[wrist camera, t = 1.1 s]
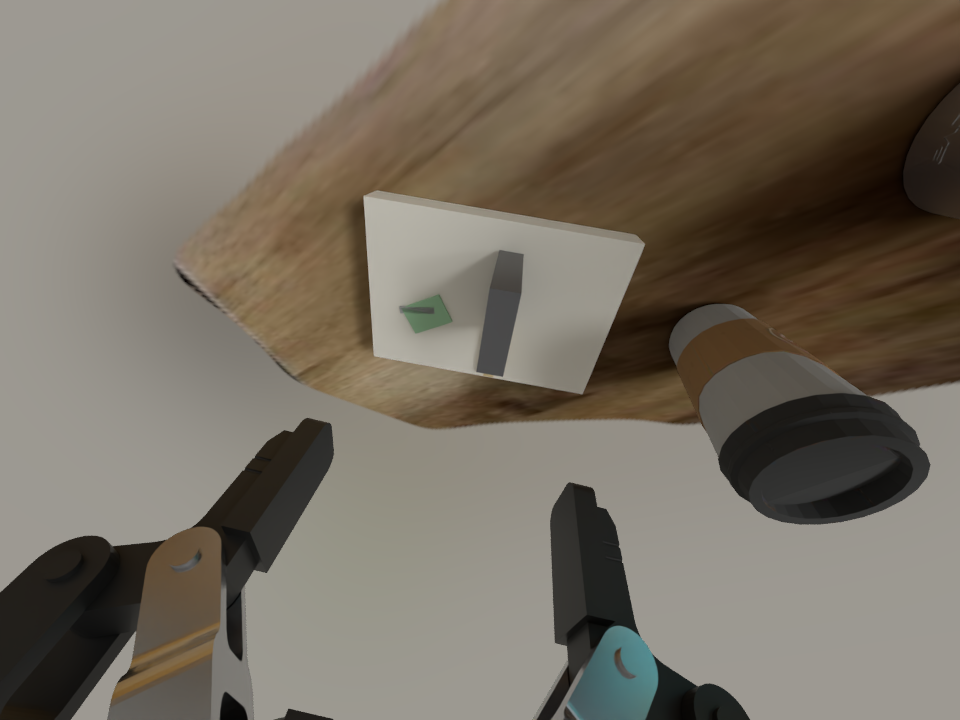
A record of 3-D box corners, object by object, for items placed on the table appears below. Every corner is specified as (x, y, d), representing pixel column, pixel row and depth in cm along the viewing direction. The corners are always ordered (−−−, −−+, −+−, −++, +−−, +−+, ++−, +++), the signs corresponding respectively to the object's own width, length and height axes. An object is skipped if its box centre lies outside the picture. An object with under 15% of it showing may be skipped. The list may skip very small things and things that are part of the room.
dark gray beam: (523, 254, 24) (521, 293, 19) (498, 373, 31) (491, 429, 25) (499, 249, 24) (489, 288, 19) (479, 369, 31) (467, 425, 25)
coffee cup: (783, 333, 28) (973, 492, 16) (688, 387, 33) (783, 544, 20) (729, 268, 26) (905, 396, 14) (634, 335, 30) (705, 478, 18)
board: (636, 234, 25) (646, 245, 23) (579, 377, 33) (582, 395, 31) (376, 190, 26) (362, 196, 24) (383, 342, 34) (373, 357, 32)
